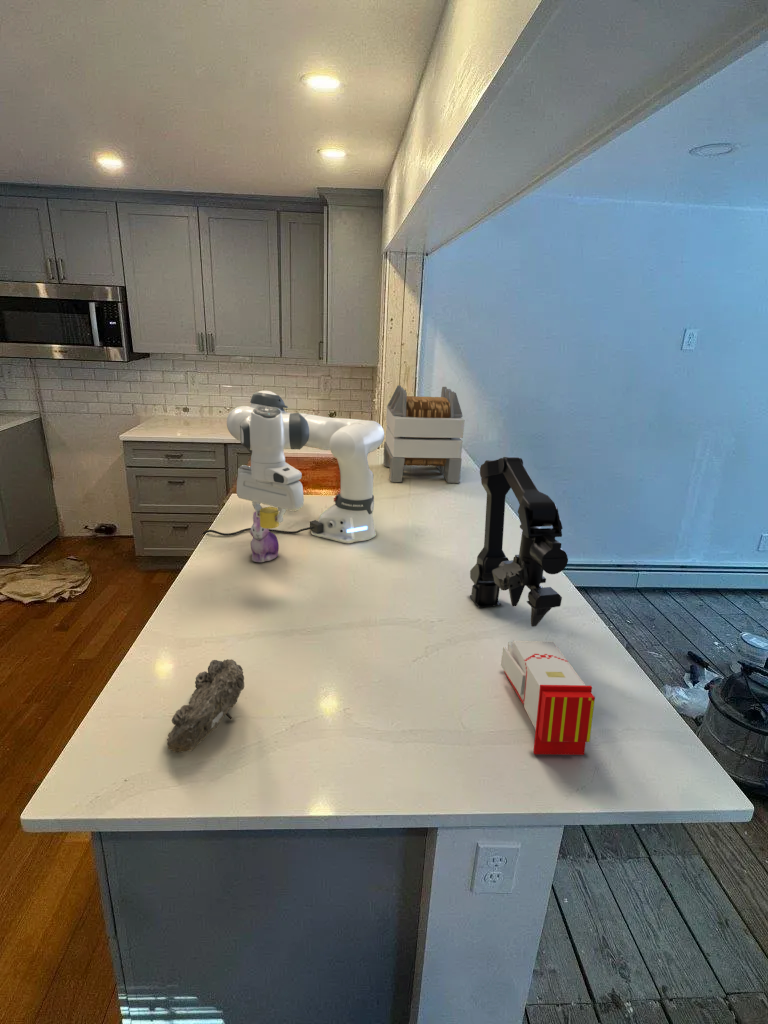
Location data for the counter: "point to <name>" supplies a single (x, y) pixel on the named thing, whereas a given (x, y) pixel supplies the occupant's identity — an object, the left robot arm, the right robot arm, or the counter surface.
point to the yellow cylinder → (268, 517)
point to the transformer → (424, 434)
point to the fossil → (206, 705)
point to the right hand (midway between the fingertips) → (523, 615)
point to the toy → (550, 696)
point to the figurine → (262, 542)
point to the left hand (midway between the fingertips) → (269, 519)
